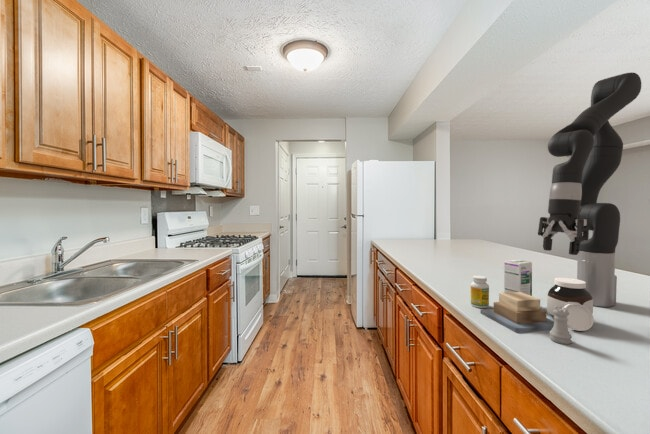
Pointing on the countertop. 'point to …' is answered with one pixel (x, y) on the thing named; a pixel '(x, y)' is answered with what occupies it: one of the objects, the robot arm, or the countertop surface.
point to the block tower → (519, 313)
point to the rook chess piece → (560, 327)
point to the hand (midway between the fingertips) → (559, 252)
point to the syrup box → (518, 276)
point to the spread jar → (572, 302)
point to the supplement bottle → (479, 292)
